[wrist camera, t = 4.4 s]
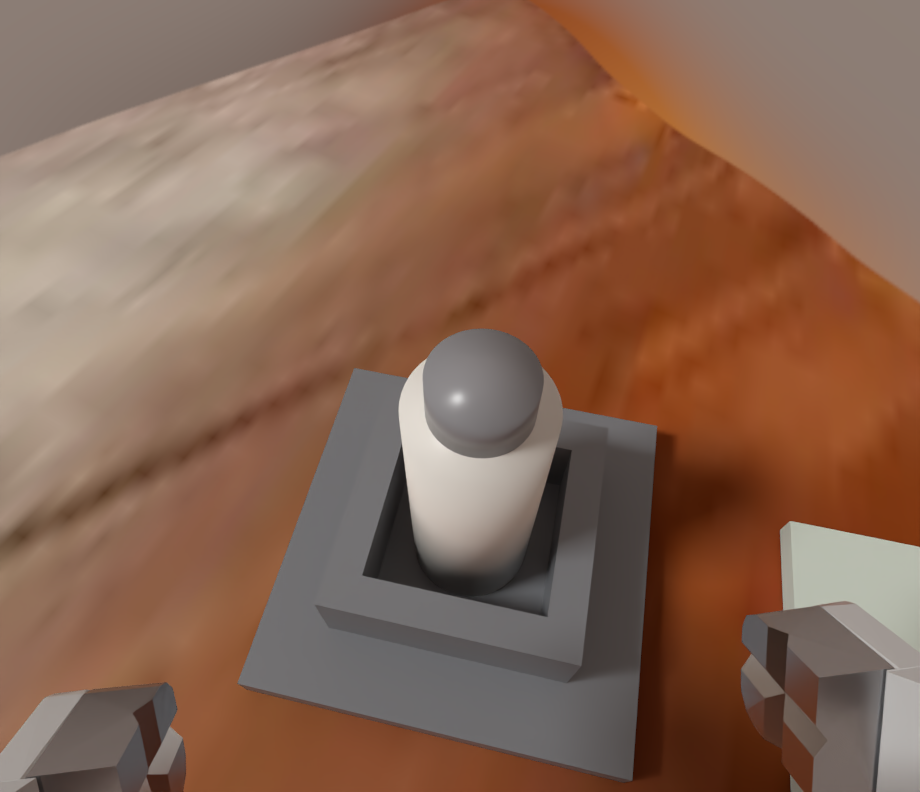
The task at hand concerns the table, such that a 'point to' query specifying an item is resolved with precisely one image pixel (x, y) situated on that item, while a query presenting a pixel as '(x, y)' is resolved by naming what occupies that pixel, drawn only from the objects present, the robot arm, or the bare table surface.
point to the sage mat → (852, 577)
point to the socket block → (468, 599)
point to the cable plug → (477, 457)
